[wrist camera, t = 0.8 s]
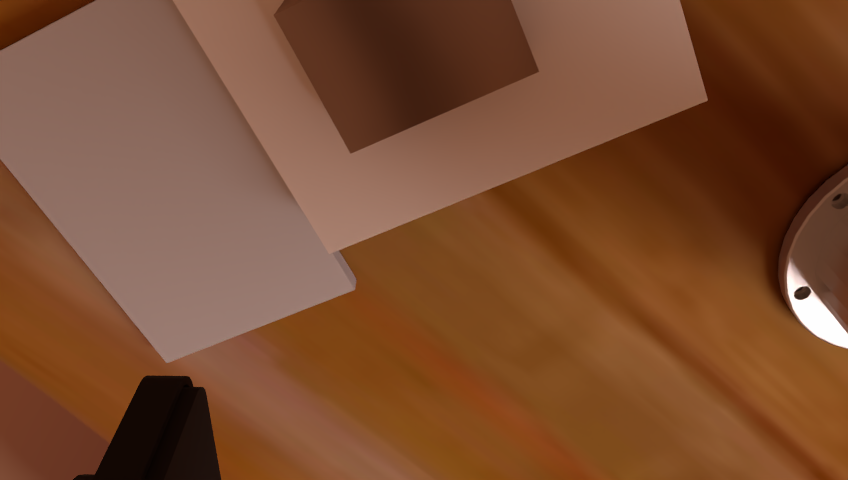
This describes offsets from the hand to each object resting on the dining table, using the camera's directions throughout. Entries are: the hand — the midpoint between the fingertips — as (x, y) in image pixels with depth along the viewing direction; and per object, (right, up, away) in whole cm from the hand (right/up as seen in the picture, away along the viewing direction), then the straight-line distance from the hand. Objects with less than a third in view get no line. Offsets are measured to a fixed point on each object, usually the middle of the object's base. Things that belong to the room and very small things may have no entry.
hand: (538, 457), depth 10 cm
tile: (-2, +12, +19) cm, 23 cm away
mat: (-15, +6, +27) cm, 31 cm away
